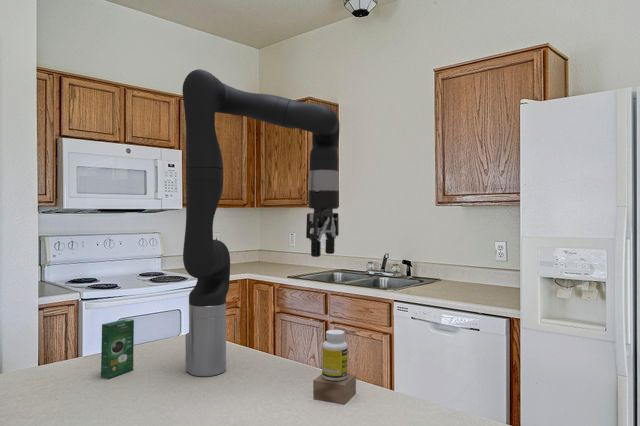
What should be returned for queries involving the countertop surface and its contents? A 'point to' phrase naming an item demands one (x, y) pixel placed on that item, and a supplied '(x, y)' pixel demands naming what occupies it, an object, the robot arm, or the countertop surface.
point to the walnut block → (334, 389)
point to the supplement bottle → (334, 356)
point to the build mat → (337, 403)
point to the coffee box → (117, 348)
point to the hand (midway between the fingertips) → (323, 255)
